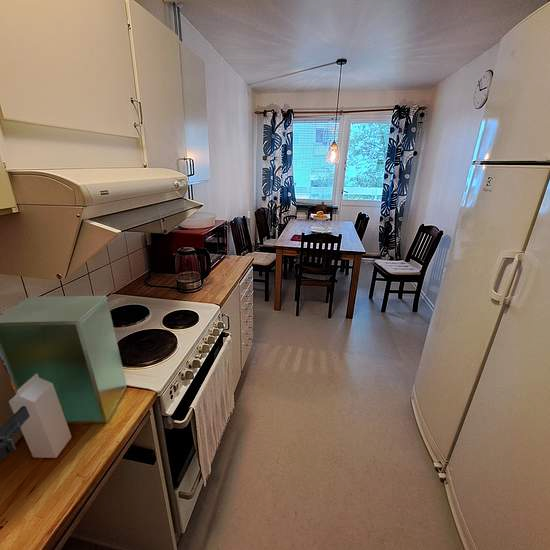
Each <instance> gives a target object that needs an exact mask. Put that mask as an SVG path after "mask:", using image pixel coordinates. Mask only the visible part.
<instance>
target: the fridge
mask: <svg viewBox="0 0 550 550" xmlns="http://www.w3.org/2000/svg"><path fill="white" fill-rule="evenodd" d="M0 357H1V359H2V362H3V364H4V367H5V369H6V371H7V374H8V376H9V378H10V381H11V383H12V386H13V388H14V390H15V393H17V390H18V389H19V388H20V387H22V386H23V385H24V384H25V383H26V382H27V381H28V380H29V379H31V378H32V377H33V376H34V375H35V374H38V376H39V378H41V379H44V380H46V381H48V382H51V383H53V386H54V388H55V391H56V394H57V397H58V400H59V402H60V405H61V408H62V411H63V414H64V416H65V419H66V422H67V425H80V424H82V425H83V424H103V423H104V424H105V423H108V422H109V420H110V418H111V417H112V415H113V413H114V412H115V410H116V408H117V406H118V404H119V402H120V401H121V398H122V397H123V395H124V393H125V392H126V390H127V388H128V385H127V384H128V383H127V380H126V376H125V371H124V366H123V363H122V357H121V355H120V349H119V345H118V340H117V336H116V332H115V327H114V322H113V319H112V314H111V310H110V306H109V301H108V297H107V295H64V296H63V295H61V296H60V295H58V296H57V295H56V296H54V295H53V296H29V297H27V298H26V299H24V300H22V301H21V302H18V303H17V304H16V305H14V306H13V307H11V308H9V309H8V310H6V311H4V312H2V313H1V314H0Z"/></svg>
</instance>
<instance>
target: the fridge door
mask: <svg viewBox="0 0 550 550" xmlns="http://www.w3.org/2000/svg"><path fill="white" fill-rule="evenodd" d="M16 394H17V392H16V390H15V387H14V385H13V383H12V380H11V378H10V376H9V373H8V371H7V369H6V366H5V364H4V361H3V359H2V357H0V429H1V428H2V427H3V425H4V424H5V423H6V422H7V421H8V420H9V419H10V418H11V417H12V416H13V415H14V413H13V411H12V408H11V406H10V404H9V401H10V400H11V399H12V398H13V397H14V396H15V395H16ZM23 437H24V435H23V433H22V431H21V430H20V431H19V432H18V433H17V434H16V435H15V437H14V438H13V439H12V441H13V443H14V446H15V445H16V444H17V443H18V442H19V441H20V440H21V438H23Z"/></svg>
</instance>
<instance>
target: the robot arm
mask: <svg viewBox="0 0 550 550" xmlns="http://www.w3.org/2000/svg"><path fill="white" fill-rule="evenodd" d="M29 416H30V415H29V413H28V410H27V408H26V406H22V407H21V408H20V409H19V410H18V411H17V412H16V413H15V414H14V415H13V416H12V417H11V418H10V419H9V420H8V421H7V422H6V423H5V424H4V425H3V427H2V428H1V429H0V462H2V461H3V460H4V459H6V458H7V457H9V456H10V455H11V454H13V453H14V452H15V451H16V449H17V448H16V446H15V445H14V443H13V441H12V439H13V438H14V437H15V435H16V434H17V433H18V432H19V431H20V430H21V426H22V424H23V423H24V422H25V421H26V420H27V419H28V418H29Z"/></svg>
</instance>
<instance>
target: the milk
mask: <svg viewBox="0 0 550 550" xmlns="http://www.w3.org/2000/svg"><path fill="white" fill-rule="evenodd" d="M9 404H10V406H11V408H12V411H13V413H14V414H15V413H16V412H17V411H18V410H19V409H20V408H21V407H22V406H26V408H27V410H28V413H29V415H30V416H29V418H28V419H27V420H26V421H25V422H24V423H23V424H22V426H21V431H22V433H23V438H24V440H25V442H26V444H27V447H28V449H29V451H30V453H31V456H32V457H33V458H34V459H35V458H37V459H38V458H41V459H43V458H45V459H46V458H47V459H49V458H50V459H56V458H58V457H59V455H60V454H61V452H62V451H63V450H64V448H66V446H67V445H68V443H69V441H70V440H71V439H72V434H71V431H70V427H69V424H67V422H66V419H65V416H64V414H63V411H62V408H61V405H60V402H59V400H58V397H57V394H56V391H55V388H54V386H53V383H51V382H48V381H46V380H44V379H41V378H39V376H38V374H35V375H34V376H33V377H32V378H31V379H29V380H28V381H27V382H26V383H25V384H24V385H23V386H22V387H20V388H19V389H18V390H17V392H16V395H15V396H14V397H13V398H12V399H11V400H10V401H9Z"/></svg>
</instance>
